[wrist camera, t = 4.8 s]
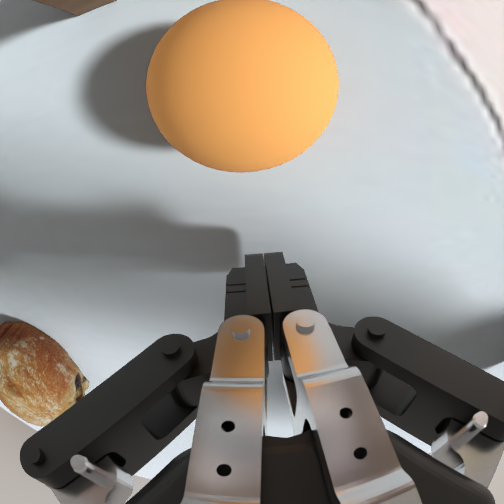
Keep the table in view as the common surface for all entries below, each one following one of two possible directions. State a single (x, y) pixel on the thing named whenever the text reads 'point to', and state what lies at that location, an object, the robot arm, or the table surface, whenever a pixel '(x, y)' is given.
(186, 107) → the ball
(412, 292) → the table surface
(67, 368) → the bread roll
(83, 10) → the bridge
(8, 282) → the table surface
